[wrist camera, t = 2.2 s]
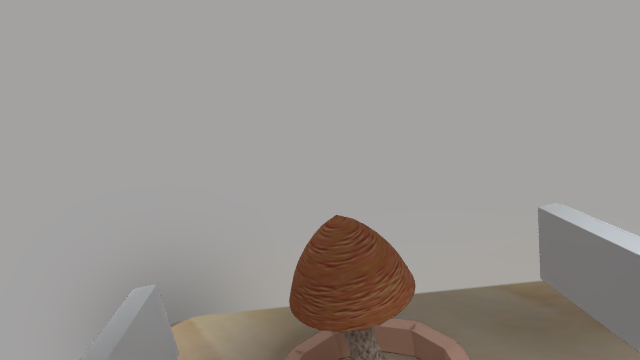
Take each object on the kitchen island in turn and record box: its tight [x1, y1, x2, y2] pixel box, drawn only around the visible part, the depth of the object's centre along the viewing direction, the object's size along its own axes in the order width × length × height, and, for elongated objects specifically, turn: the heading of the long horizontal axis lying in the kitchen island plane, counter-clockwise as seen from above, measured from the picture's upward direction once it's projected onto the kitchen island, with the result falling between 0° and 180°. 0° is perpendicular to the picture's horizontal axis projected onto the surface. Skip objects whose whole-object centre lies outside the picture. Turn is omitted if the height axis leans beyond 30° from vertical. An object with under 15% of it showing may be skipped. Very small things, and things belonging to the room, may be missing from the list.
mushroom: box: [289, 215, 415, 360], centre depth 25 cm, size 8×8×15 cm
